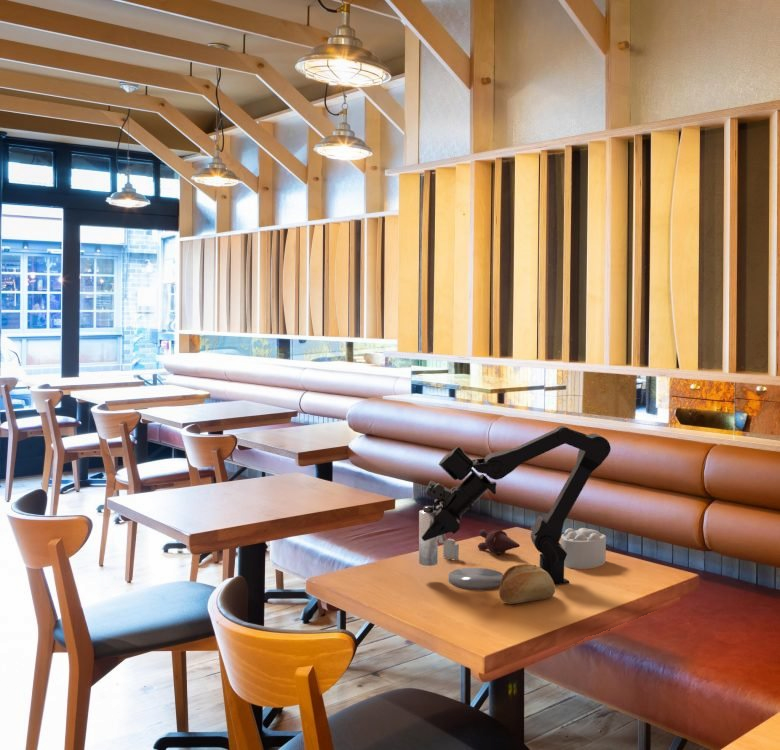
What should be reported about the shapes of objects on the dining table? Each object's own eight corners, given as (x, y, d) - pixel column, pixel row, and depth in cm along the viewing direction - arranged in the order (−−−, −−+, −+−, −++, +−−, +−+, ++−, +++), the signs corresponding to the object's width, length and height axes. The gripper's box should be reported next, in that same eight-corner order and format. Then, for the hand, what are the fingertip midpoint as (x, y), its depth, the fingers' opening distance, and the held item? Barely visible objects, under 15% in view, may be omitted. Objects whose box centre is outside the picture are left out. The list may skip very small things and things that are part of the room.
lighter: (458, 559, 221) (459, 530, 221) (455, 560, 220) (455, 531, 219) (438, 554, 226) (438, 526, 225) (434, 555, 224) (434, 527, 224)
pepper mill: (440, 564, 201) (440, 508, 201) (423, 566, 200) (423, 509, 199) (433, 559, 206) (433, 504, 205) (416, 561, 204) (416, 505, 203)
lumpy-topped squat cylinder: (610, 561, 220) (611, 530, 219) (585, 571, 210) (586, 538, 210) (576, 554, 227) (577, 523, 226) (551, 563, 218) (551, 531, 217)
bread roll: (487, 600, 188) (487, 566, 188) (535, 589, 196) (535, 556, 196) (515, 612, 180) (515, 576, 180) (564, 600, 188) (564, 566, 188)
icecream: (529, 533, 224) (489, 528, 235) (511, 531, 219) (471, 525, 231) (526, 559, 222) (486, 552, 234) (508, 557, 218) (468, 550, 229)
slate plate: (515, 586, 198) (515, 581, 198) (463, 592, 193) (463, 587, 193) (488, 570, 211) (488, 565, 211) (439, 575, 206) (439, 570, 206)
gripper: (443, 464, 211) (400, 506, 212) (445, 477, 192) (399, 523, 193) (473, 494, 211) (430, 536, 212) (479, 510, 192) (432, 556, 193)
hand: (422, 536), depth 202 cm, fingers closed on pepper mill, 5 cm apart
